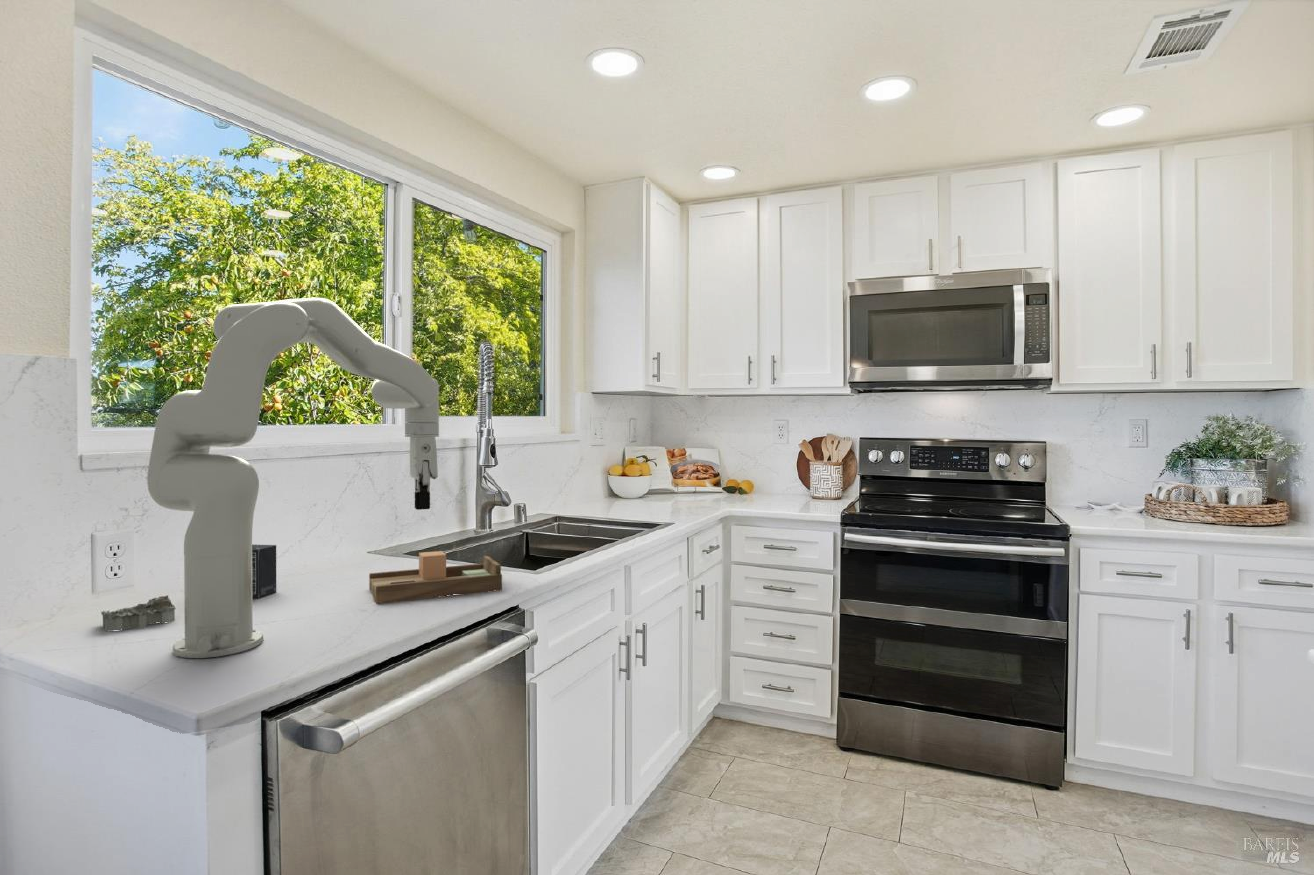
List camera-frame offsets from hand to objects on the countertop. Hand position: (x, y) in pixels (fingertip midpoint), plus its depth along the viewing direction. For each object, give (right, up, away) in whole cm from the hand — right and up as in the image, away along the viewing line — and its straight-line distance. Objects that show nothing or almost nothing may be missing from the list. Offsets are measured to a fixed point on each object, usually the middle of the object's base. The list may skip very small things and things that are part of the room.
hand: (422, 508), depth 164 cm
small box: (-33, -17, -14) cm, 40 cm away
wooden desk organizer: (+6, -17, -8) cm, 20 cm away
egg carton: (-40, -18, -36) cm, 56 cm away
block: (+4, -15, -6) cm, 16 cm away
